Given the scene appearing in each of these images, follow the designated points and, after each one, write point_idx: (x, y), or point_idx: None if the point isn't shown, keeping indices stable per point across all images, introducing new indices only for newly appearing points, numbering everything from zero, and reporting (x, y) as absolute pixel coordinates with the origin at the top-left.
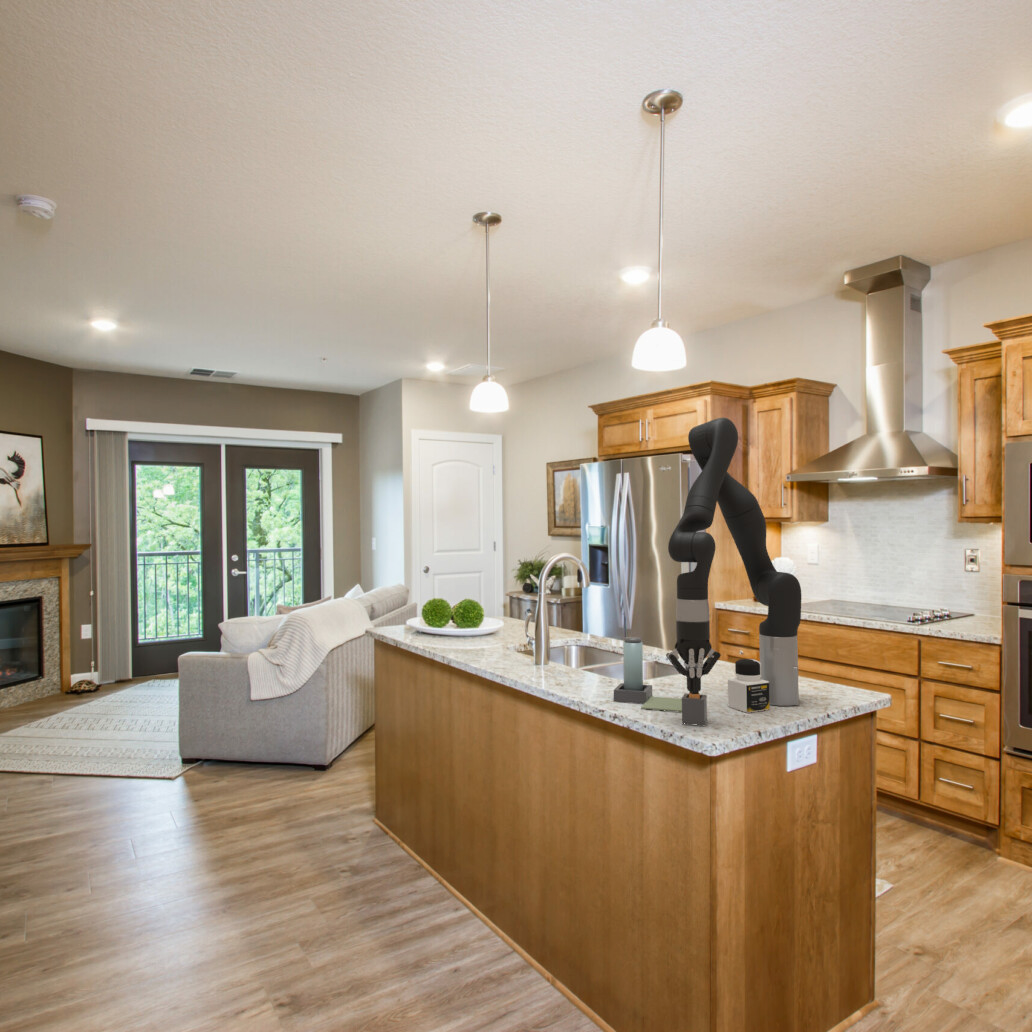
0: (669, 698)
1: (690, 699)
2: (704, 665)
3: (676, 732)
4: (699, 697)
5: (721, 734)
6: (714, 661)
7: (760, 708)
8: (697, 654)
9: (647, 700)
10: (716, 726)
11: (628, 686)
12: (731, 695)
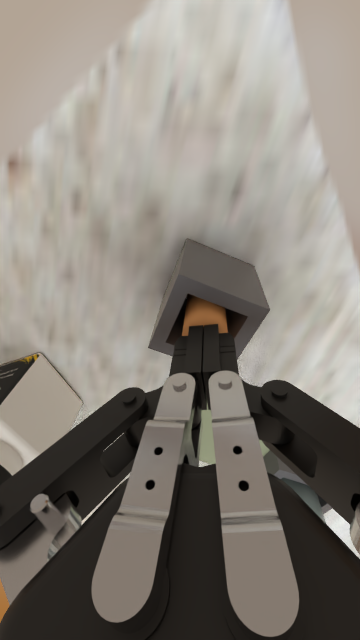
0: (208, 459)
1: (235, 294)
2: (124, 460)
3: (317, 164)
4: (185, 319)
5: (151, 122)
6: (47, 461)
7: (3, 367)
8: (173, 537)
9: (267, 453)
10: (147, 235)
11: (315, 500)
12: (62, 418)
